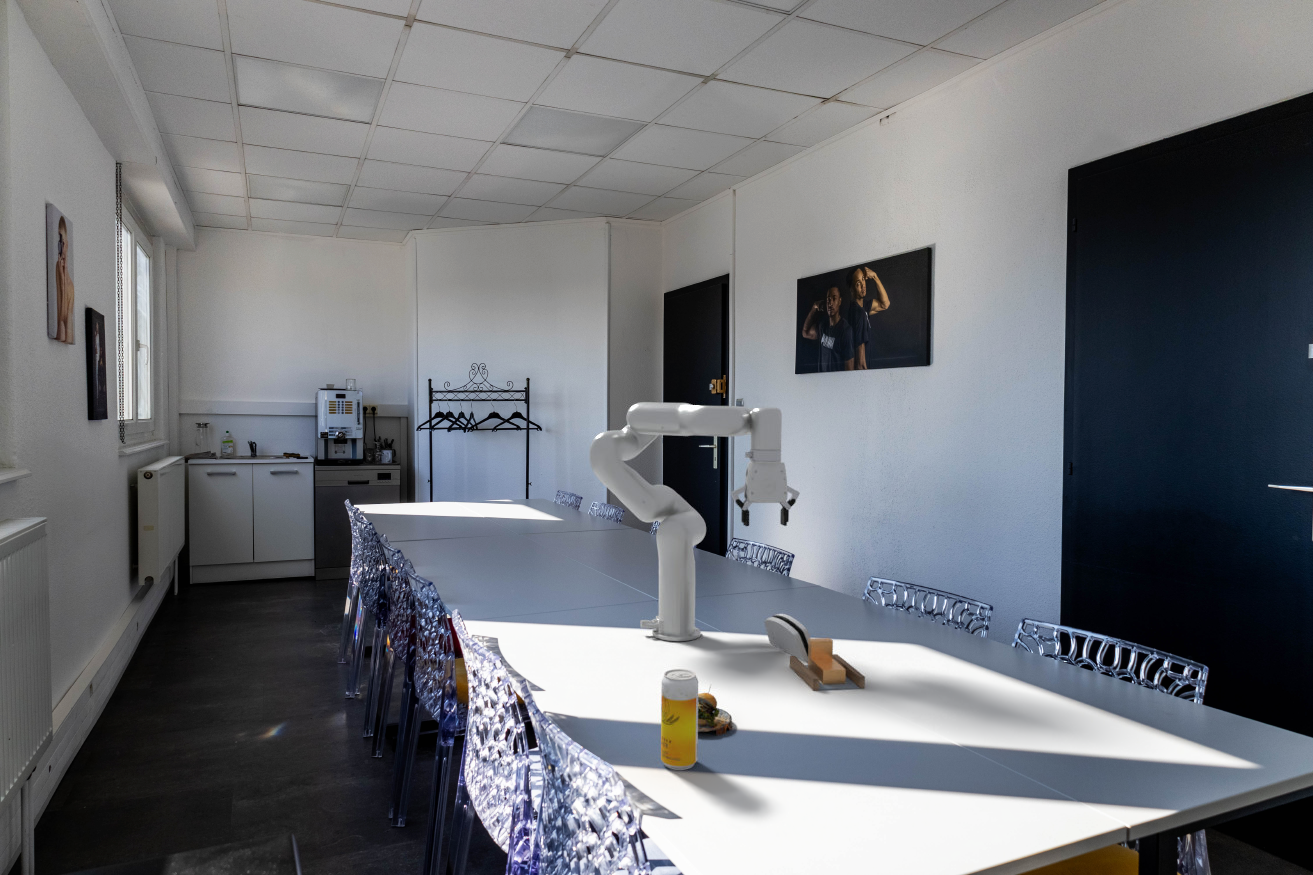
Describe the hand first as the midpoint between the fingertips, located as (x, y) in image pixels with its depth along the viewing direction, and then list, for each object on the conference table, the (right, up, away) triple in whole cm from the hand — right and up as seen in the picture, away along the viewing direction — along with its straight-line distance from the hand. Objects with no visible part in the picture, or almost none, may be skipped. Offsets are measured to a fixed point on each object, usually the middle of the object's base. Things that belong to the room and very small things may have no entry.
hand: (764, 525), depth 202 cm
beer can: (-23, -33, -67) cm, 78 cm away
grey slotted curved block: (+6, -31, -4) cm, 32 cm away
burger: (-19, -32, -50) cm, 63 cm away
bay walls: (+10, -31, -23) cm, 40 cm away
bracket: (+10, -31, -23) cm, 40 cm away
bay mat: (+10, -31, -23) cm, 40 cm away
